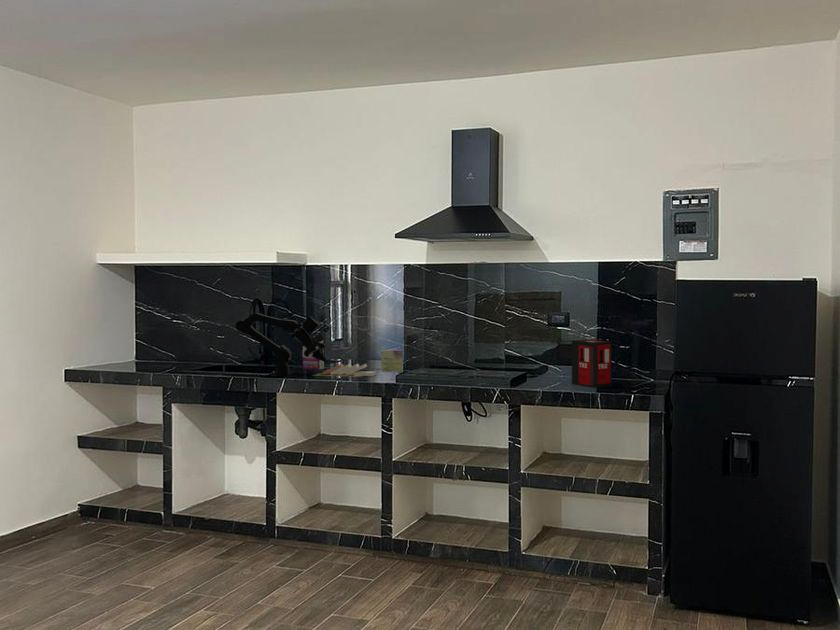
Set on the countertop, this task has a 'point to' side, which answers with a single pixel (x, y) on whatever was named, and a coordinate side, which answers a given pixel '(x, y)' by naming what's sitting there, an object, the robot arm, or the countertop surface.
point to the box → (391, 360)
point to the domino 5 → (364, 373)
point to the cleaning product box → (592, 363)
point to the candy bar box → (312, 361)
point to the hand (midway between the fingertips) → (326, 361)
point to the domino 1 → (332, 369)
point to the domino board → (333, 374)
